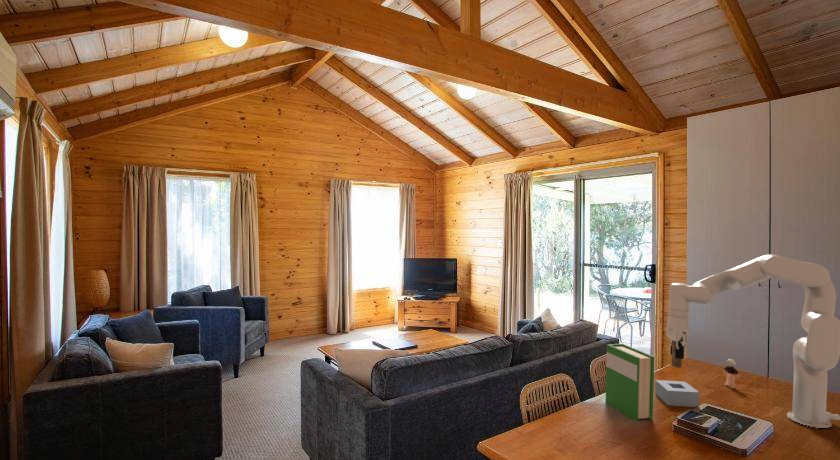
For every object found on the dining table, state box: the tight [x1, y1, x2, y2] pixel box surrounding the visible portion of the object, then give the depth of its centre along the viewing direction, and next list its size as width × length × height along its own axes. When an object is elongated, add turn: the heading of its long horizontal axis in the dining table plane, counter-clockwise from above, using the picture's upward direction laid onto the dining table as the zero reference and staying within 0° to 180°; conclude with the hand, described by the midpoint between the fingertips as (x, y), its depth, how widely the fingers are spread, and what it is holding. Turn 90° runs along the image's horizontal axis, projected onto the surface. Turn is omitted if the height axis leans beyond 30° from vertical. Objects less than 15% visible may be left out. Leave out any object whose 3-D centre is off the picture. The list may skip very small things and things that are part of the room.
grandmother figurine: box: [722, 358, 740, 389], centre depth 202 cm, size 8×4×13 cm, turn 25°
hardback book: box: [605, 343, 655, 423], centre depth 175 cm, size 18×7×24 cm, turn 13°
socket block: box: [654, 379, 700, 408], centre depth 186 cm, size 12×12×6 cm
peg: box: [671, 340, 683, 369], centre depth 186 cm, size 4×4×12 cm
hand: (677, 356), depth 186 cm, fingers closed on peg, 3 cm apart
